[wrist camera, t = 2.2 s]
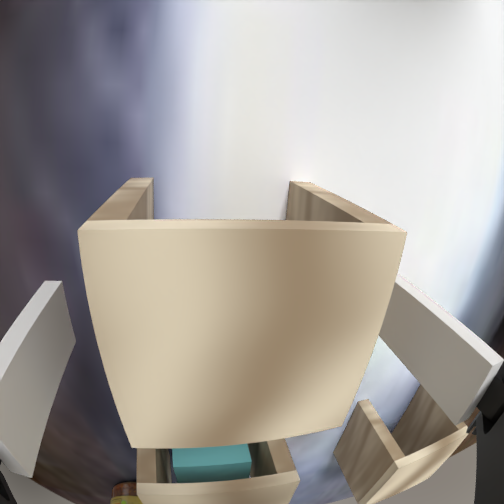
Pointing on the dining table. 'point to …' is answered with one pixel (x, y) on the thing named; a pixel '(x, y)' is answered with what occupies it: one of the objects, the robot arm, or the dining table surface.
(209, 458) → the teal cube
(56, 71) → the dining table surface
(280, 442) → the cover
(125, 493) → the sauce bottle
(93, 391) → the dining table surface
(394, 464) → the cover
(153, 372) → the cover
